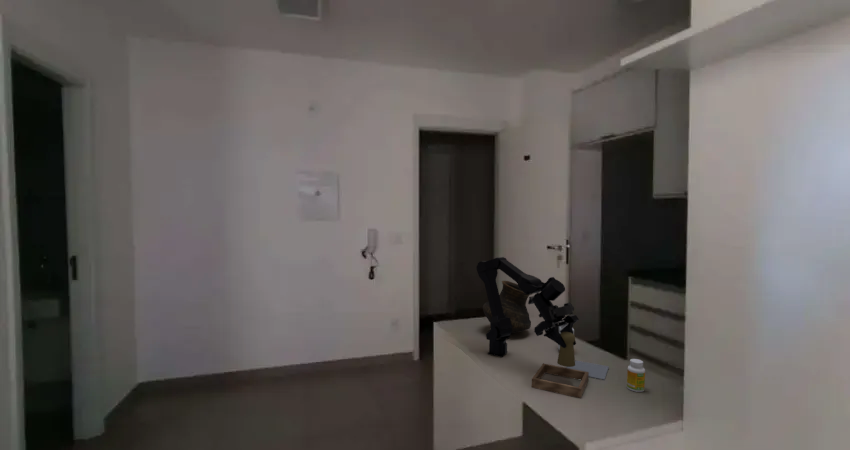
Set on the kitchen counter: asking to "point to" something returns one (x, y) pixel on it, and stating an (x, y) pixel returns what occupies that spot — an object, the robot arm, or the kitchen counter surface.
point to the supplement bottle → (636, 376)
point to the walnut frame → (559, 387)
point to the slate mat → (591, 369)
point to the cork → (567, 350)
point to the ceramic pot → (512, 306)
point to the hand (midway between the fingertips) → (570, 346)
